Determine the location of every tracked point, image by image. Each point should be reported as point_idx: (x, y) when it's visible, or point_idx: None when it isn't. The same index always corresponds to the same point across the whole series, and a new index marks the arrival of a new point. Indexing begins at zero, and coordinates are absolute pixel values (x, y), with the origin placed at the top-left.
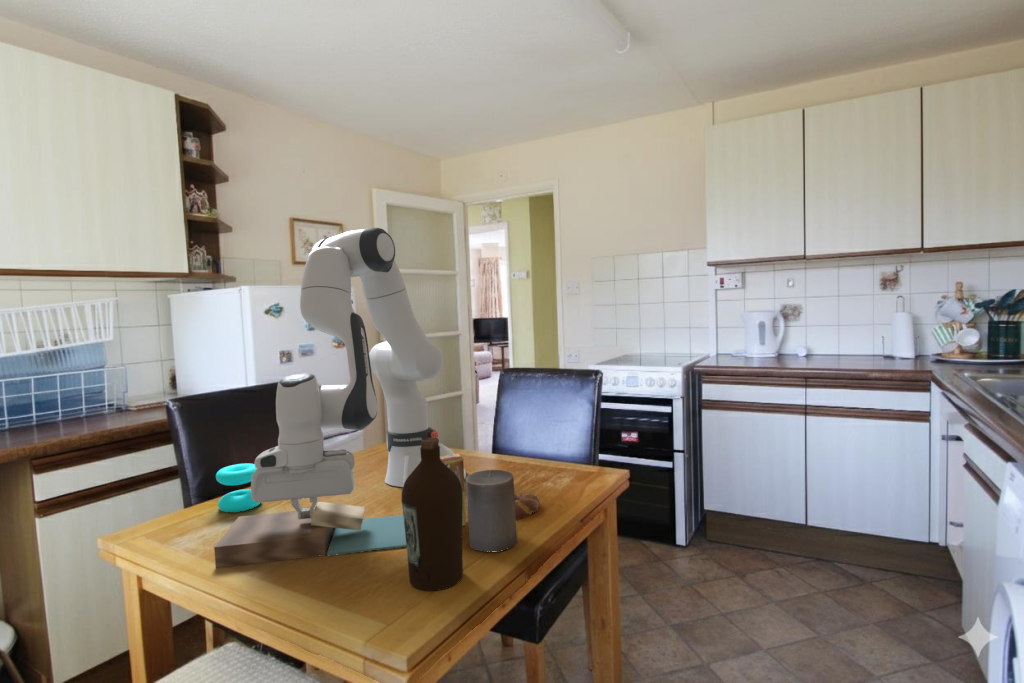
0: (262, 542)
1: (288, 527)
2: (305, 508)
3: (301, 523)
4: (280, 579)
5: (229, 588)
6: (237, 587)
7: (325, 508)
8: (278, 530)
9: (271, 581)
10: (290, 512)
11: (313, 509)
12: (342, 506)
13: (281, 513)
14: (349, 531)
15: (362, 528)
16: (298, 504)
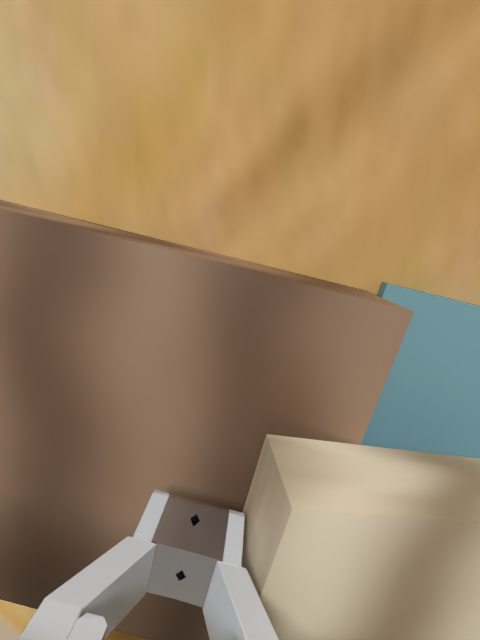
0: (12, 598)
1: (107, 508)
2: (179, 552)
3: (174, 487)
4: (132, 637)
5: (5, 616)
6: (25, 621)
7: (325, 620)
8: (60, 519)
9: (109, 635)
10: (99, 253)
11: (240, 557)
12: (462, 558)
13: (38, 240)
14: (404, 445)
15: (471, 443)
16: (107, 607)
